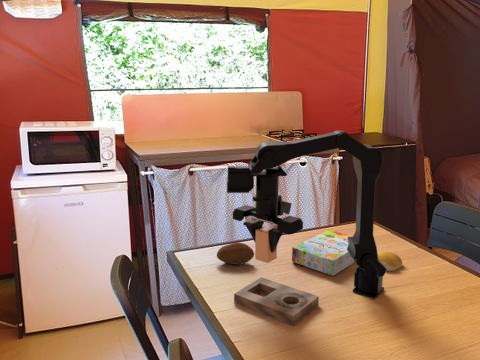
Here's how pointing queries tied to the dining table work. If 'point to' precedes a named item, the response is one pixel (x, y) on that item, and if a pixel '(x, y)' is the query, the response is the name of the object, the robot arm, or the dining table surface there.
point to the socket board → (277, 300)
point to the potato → (235, 253)
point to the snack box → (324, 252)
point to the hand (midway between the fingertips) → (266, 250)
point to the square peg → (264, 246)
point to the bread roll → (390, 260)
